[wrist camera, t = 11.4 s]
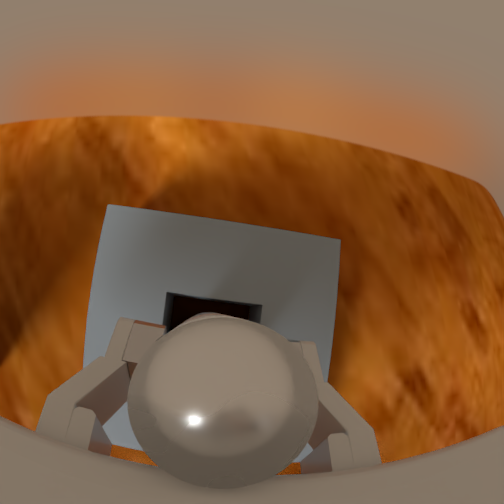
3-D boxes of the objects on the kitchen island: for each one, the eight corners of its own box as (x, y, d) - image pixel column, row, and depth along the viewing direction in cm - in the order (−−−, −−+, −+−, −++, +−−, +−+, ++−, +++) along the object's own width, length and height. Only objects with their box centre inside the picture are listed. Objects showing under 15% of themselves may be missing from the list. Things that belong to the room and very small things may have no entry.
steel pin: (241, 315, 17) (329, 326, 5) (234, 372, 16) (302, 488, 4) (183, 307, 16) (135, 302, 5) (176, 365, 16) (126, 475, 4)
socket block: (314, 253, 19) (340, 239, 16) (292, 435, 17) (313, 461, 13) (125, 225, 18) (107, 204, 14) (103, 413, 15) (82, 435, 12)
